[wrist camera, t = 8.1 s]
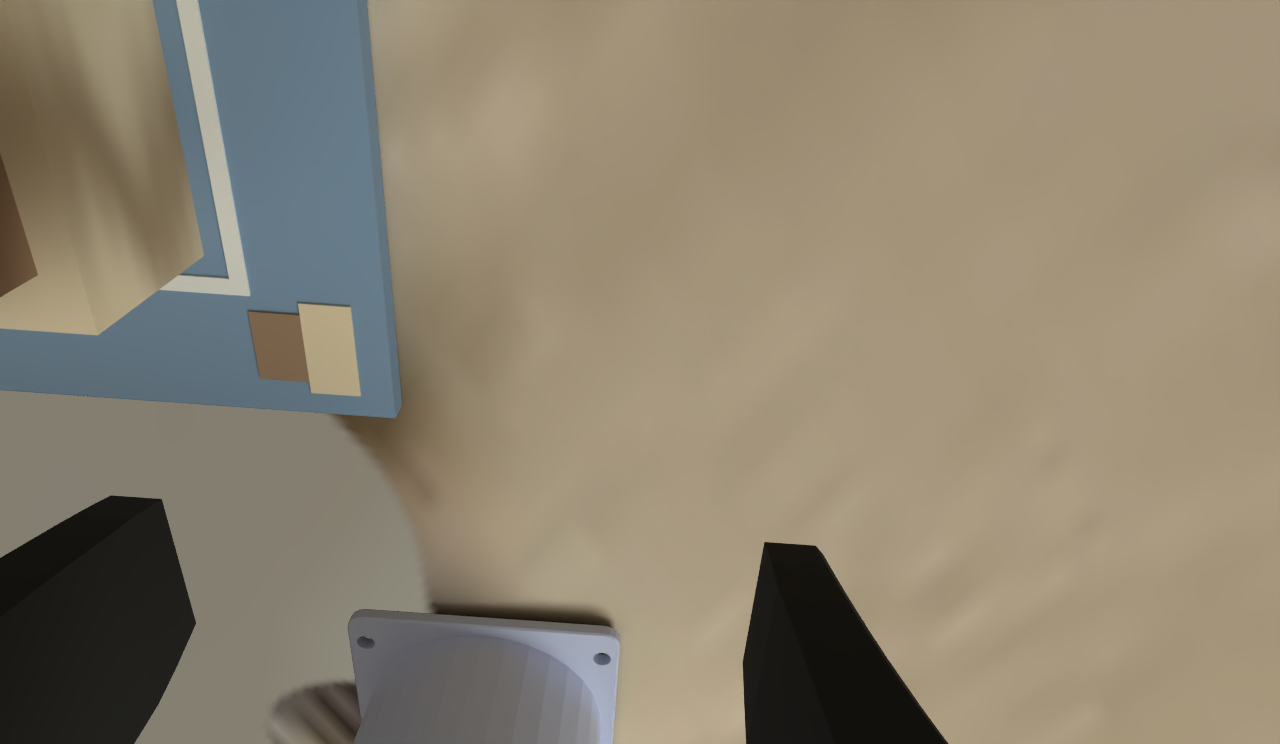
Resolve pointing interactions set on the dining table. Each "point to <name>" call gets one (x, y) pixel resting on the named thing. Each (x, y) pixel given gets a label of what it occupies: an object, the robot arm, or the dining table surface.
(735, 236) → the dining table surface
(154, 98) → the maple base block
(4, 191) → the walnut block
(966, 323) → the dining table surface
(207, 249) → the board
